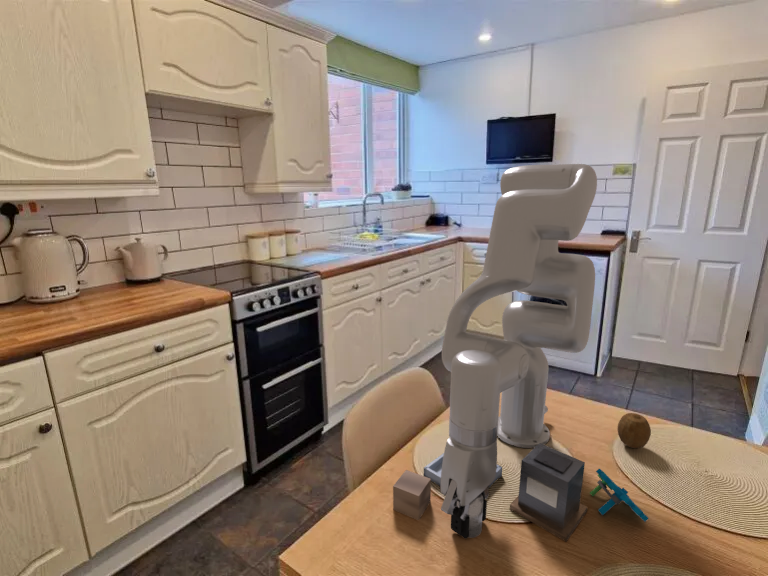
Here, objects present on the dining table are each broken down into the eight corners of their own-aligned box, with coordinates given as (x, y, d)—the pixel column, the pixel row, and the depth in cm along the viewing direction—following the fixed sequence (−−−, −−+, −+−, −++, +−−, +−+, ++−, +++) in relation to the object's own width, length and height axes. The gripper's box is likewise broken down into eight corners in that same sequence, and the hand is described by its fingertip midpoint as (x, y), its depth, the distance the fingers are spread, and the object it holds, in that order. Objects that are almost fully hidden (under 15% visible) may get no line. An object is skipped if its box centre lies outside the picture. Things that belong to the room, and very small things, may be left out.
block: (406, 492, 79) (406, 469, 77) (430, 502, 76) (430, 478, 75) (393, 510, 74) (393, 486, 73) (418, 520, 72) (418, 496, 71)
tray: (456, 451, 90) (456, 443, 90) (501, 475, 83) (502, 466, 82) (423, 476, 83) (423, 467, 82) (470, 505, 75) (471, 495, 75)
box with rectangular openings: (532, 484, 80) (537, 436, 78) (586, 511, 74) (593, 460, 71) (509, 509, 74) (513, 458, 72) (566, 541, 67) (572, 487, 65)
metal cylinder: (464, 513, 73) (466, 483, 72) (486, 526, 70) (488, 496, 69) (449, 527, 70) (451, 497, 69) (472, 542, 67) (473, 511, 66)
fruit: (652, 448, 91) (658, 415, 89) (640, 459, 88) (645, 425, 86) (623, 435, 96) (627, 403, 94) (610, 445, 92) (614, 412, 90)
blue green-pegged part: (663, 528, 68) (621, 487, 67) (636, 552, 68) (594, 511, 68) (625, 489, 79) (589, 453, 78) (602, 509, 79) (566, 474, 79)
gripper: (481, 400, 74) (476, 488, 79) (420, 440, 63) (419, 541, 67) (520, 416, 69) (513, 509, 74) (462, 463, 58) (457, 570, 62)
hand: (468, 523), depth 70 cm, fingers closed on metal cylinder, 4 cm apart
